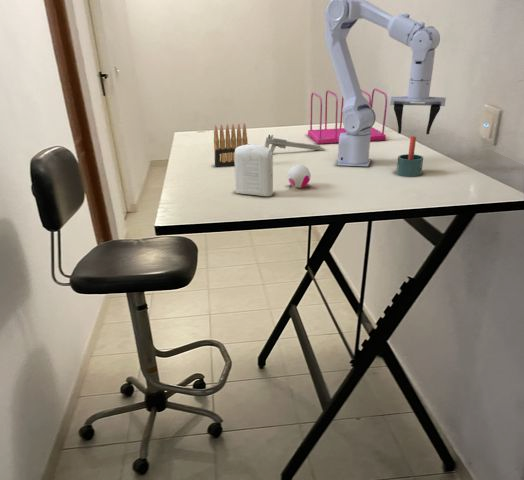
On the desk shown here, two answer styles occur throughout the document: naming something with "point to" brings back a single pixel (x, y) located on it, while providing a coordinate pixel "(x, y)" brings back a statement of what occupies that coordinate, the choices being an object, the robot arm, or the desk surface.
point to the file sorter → (333, 134)
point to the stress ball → (299, 176)
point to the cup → (409, 165)
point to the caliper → (288, 144)
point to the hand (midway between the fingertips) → (413, 133)
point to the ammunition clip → (228, 145)
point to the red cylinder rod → (411, 148)
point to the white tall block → (254, 170)
